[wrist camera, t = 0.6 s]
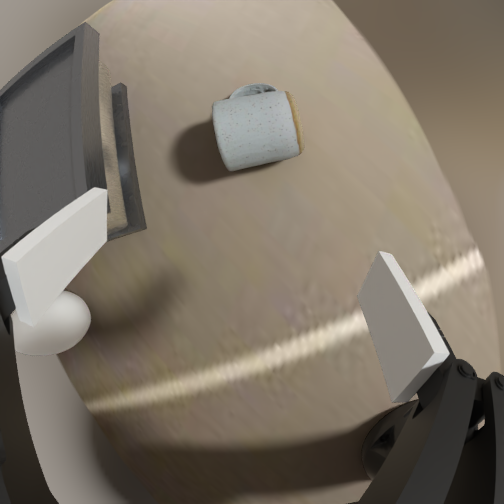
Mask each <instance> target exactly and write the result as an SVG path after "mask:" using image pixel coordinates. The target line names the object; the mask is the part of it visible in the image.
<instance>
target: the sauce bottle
mask: <svg viewBox="0 0 504 504" xmlns="http://www.w3.org/2000/svg"><path fill="white" fill-rule="evenodd" d="M11 318H12V321H13V333H14V345H15V351H16V352H19V353H22V354H25V355H31V356H48V355H54V354H58V353H60V352H63V351H65V350H68V349H70V348H71V347H73V346H74V345H76V344H77V343H78V342H79V341H80V340H81V339H82V338H83V337H84V335H85V334H86V332H87V330H88V328H89V326H90V323H91V314H90V311H89V308H88V306H87V305H86V303H85V302H84V300H83V299H82V298H81V297H79V296H78V295H76V294H74V293H71V292H69V291H62V292H61V294H60V295H59V296H58V297H57V298H56V300H55V301H54V302H53V303H52V305H51V306H50V307H49V308H48V310H47V311H46V312H45V314H44V315H43V316H42V318H41V319H40V320H39V321H38V323H37V324H36V325H35V327H32V326H30V325H28V324H26V323H24V322H22V321H20V320H19V317H18V314H17V311H15V312H14V313H13V314H12V315H11Z"/></svg>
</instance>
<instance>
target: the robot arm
mask: <svg viewBox="0 0 504 504" xmlns="http://www.w3.org/2000/svg"><path fill="white" fill-rule="evenodd" d="M107 191H108V190H106V189H101V188H96V187H94V188H92V189H91V190H89V191H88V192H86V193H85V194H83V195H82V196H80V197H79V198H77V199H76V200H74V201H73V202H71V203H70V204H69V205H67V206H66V207H64V208H63V209H61V210H60V211H59V212H57V213H56V214H54V215H53V216H52V217H50V218H49V219H48V220H46V221H45V222H44V223H42V224H41V225H40V226H38V227H36V228H33V229H31V230H29V231H27V232H25V233H24V234H23V235H22V236H20V237H19V239H17V240H15V241H14V242H13V244H10V245H9V246H8V247H7V248H6V249H4V250H3V251H2V252H1V253H0V504H59V503H58V502H57V501H56V499H55V498H54V496H53V495H52V493H51V492H50V490H49V487H48V485H47V483H46V480H45V477H44V475H43V472H42V469H41V467H40V463H39V460H38V457H37V454H36V451H35V448H34V444H33V441H32V437H31V434H30V430H29V426H28V422H27V418H26V414H25V409H24V405H23V400H22V395H21V389H20V384H19V377H18V370H17V363H16V355H15V345H14V333H13V321H12V318H11V315H10V314H11V313H12V312H13V311H14V310H15V308H16V311H17V314H18V317H19V320H20V321H22V322H24V323H26V324H28V325H30V326H32V327H35V325H36V324H37V323H38V321H39V320H40V319H41V318H42V316H43V315H44V314H45V312H46V311H47V310H48V308H49V307H50V306H51V305H52V303H53V302H54V301H55V300H56V298H57V297H58V296H59V295H60V294H61V292H62V291H63V290H64V289H65V288H66V286H67V285H68V284H69V283H70V282H71V280H72V279H73V278H74V277H75V276H76V275H77V273H78V272H79V271H80V270H81V269H82V268H83V267H84V265H85V264H86V263H87V262H88V261H89V260H90V259H91V258H92V256H93V255H94V254H95V253H96V252H97V251H98V250H99V249H100V248H101V247H102V246H103V244H104V243H105V242H106V241H107ZM357 297H358V300H359V303H360V306H361V308H362V311H363V314H364V317H365V319H366V322H367V325H368V328H369V331H370V334H371V337H372V340H373V343H374V346H375V349H376V352H377V355H378V358H379V361H380V364H381V367H382V371H383V374H384V377H385V380H386V384H387V387H388V390H389V394H390V397H391V401H392V402H408V401H409V400H410V399H411V398H412V397H413V396H414V395H415V394H416V393H417V395H418V398H419V400H416V401H413V402H410V403H407V404H405V405H403V406H401V407H399V408H397V409H395V410H394V411H392V412H391V413H389V414H388V415H386V416H385V417H384V418H383V419H382V420H380V421H379V422H378V423H377V424H376V425H375V426H374V428H373V429H372V430H371V431H370V433H369V434H368V436H367V437H366V439H365V441H364V444H363V447H362V461H363V465H364V469H365V471H366V473H367V475H368V476H369V477H370V479H371V480H372V482H371V484H370V485H369V487H368V488H367V490H366V491H365V493H364V494H363V496H362V497H361V499H360V500H359V501H358V502H353V503H348V504H504V376H503V375H501V374H500V373H498V372H492V373H491V374H490V375H489V376H488V377H487V379H486V380H484V379H481V378H478V377H477V374H476V372H475V370H474V369H473V367H472V366H471V365H470V364H469V363H468V362H466V361H464V360H462V359H456V357H455V355H454V353H453V351H452V349H451V348H450V346H449V344H448V342H447V340H446V338H445V337H444V335H443V333H442V331H441V330H440V327H439V326H438V324H437V322H436V320H435V319H434V318H433V317H432V316H431V315H430V314H429V313H428V312H427V311H426V309H425V307H424V306H423V304H422V302H421V300H420V299H419V297H418V295H417V294H416V292H415V290H414V289H413V287H412V286H411V284H410V282H409V281H408V279H407V278H406V276H405V274H404V273H403V271H402V270H401V268H400V267H399V265H398V264H397V262H396V260H395V259H394V257H393V256H392V254H389V253H385V252H381V251H378V253H377V255H376V257H375V259H374V262H373V264H372V266H371V268H370V270H369V272H368V274H367V277H366V279H365V281H364V283H363V285H362V287H361V289H360V291H359V293H358V295H357ZM484 419H485V424H484V426H483V427H482V428H480V429H479V430H478V424H479V423H480V422H481V421H482V420H484Z"/></svg>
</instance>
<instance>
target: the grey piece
mask: <svg viewBox="0 0 504 504" xmlns="http://www.w3.org/2000/svg"><path fill="white" fill-rule="evenodd" d="M99 35H100V34H99V33H98V32H97V31H96V30H95V29H93V28H92V27H91V26H90V25H89V24H87V23H86V22H84V23H83V24H81V25H80V26H78V27H77V28H75V29H74V30H72V31H71V32H69V33H68V34H66V35H65V36H64V37H62V38H61V39H59V40H58V41H57V42H55V43H54V44H53V45H52V46H50V47H49V48H47V49H46V50H45V51H44V52H42V53H41V54H40V55H39V56H37V57H36V58H35V59H34V60H33V61H31V62H30V63H29V64H28V65H27V66H26V67H24V68H23V69H22V70H21V71H20V72H19V73H18V74H17V75H16V76H14V77H13V78H12V79H11V80H10V81H9V82H8V83H7V84H6V85H5V86H4V87H3V88H2V89H1V90H0V253H1V252H2V251H3V250H4V249H6V248H7V247H8V246H9V245H10V244H13V242H14V241H15V240H17V239H19V237H20V236H22V235H23V234H24V233H25V232H27V231H29V230H31V229H33V228H36V227H38V226H40V225H41V224H42V223H44V222H45V221H46V220H48V219H49V218H50V217H52V216H53V215H54V214H56V213H57V212H59V211H60V210H61V209H63V208H64V207H66V206H67V205H69V204H70V203H71V202H73V201H74V200H76V199H77V198H79V197H80V196H82V195H83V194H85V193H86V192H88V191H89V190H91V189H92V188H94V187H96V188H101V189H106V190H108V191H107V241H110V240H113V239H116V238H120V237H123V236H126V235H129V234H132V233H135V232H138V231H142V230H145V229H147V228H146V223H145V218H144V212H143V207H142V202H141V196H140V190H139V184H138V178H137V172H136V166H135V159H134V152H133V144H132V137H131V128H130V120H129V110H128V100H127V88H126V86H125V85H124V84H122V83H119V84H117V85H115V86H113V87H112V88H111V75H110V72H109V70H108V68H107V67H106V66H105V65H104V64H103V63H101V62H99ZM107 241H106V242H107Z"/></svg>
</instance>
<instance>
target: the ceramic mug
mask: <svg viewBox="0 0 504 504" xmlns="http://www.w3.org/2000/svg"><path fill="white" fill-rule="evenodd" d="M212 118H213V126H214V131H215V136H216V141H217V145H218V149H219V152H220V154H221V157H222V160H223V162H224V164H225V166H226V168H227V169H228V170H229V171H235V170H239V169H243V168H248V167H253V166H257V165H262V164H266V163H270V162H275V161H281V160H286V159H290V158H292V157H295V156H298V155H300V154H301V153H302V151H303V150H304V138H303V131H302V125H301V120H300V116H299V111H298V108H297V105H296V102H295V99H294V97H293V95H292V94H290V93H289V92H286V91H278V90H277V89H276V88H275V87H274V86H272V85H269V84H264V83H255V84H249V85H245V86H243V87H240V88H238V89H237V90H236V91H234V92H233V93H232V95H231V96H230V98H229V99H225V100H220V101H216V102H214V103H213V106H212Z"/></svg>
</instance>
